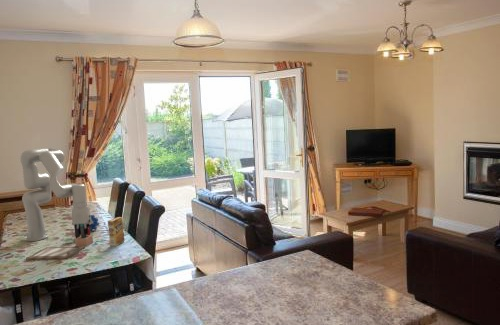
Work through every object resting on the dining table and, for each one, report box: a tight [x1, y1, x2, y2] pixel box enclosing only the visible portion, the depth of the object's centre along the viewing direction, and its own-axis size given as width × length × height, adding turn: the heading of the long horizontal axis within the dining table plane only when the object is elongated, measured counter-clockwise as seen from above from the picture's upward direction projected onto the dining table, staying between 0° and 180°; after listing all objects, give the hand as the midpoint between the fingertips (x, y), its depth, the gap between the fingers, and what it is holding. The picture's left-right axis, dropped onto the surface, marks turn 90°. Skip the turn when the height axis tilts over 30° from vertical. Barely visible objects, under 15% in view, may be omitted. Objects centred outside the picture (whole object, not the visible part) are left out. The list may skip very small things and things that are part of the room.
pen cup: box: [74, 234, 94, 247], centre depth 232 cm, size 7×7×4 cm
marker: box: [80, 224, 87, 239], centre depth 231 cm, size 3×3×10 cm
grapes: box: [90, 214, 100, 232], centre depth 261 cm, size 12×7×12 cm, turn 131°
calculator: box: [73, 222, 91, 239], centre depth 246 cm, size 11×4×15 cm, turn 168°
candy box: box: [107, 216, 125, 247], centre depth 229 cm, size 9×4×15 cm, turn 162°
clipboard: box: [25, 246, 86, 261], centre depth 217 cm, size 24×18×2 cm
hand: (83, 234), depth 232 cm, fingers closed on marker, 3 cm apart
